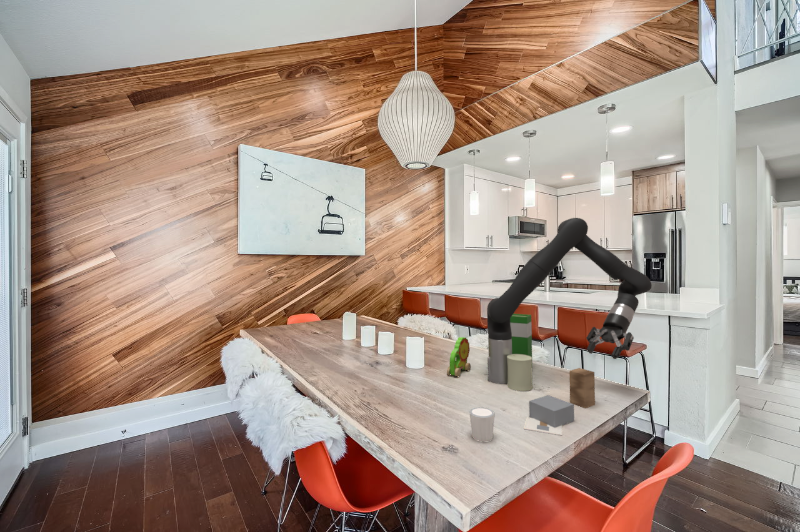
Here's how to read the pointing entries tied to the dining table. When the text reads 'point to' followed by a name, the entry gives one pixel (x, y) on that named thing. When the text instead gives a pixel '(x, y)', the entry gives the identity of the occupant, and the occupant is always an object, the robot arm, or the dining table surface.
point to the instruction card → (541, 427)
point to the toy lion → (459, 357)
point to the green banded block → (521, 334)
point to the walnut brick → (582, 387)
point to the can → (519, 372)
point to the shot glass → (482, 423)
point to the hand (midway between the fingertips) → (601, 354)
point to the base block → (551, 411)
